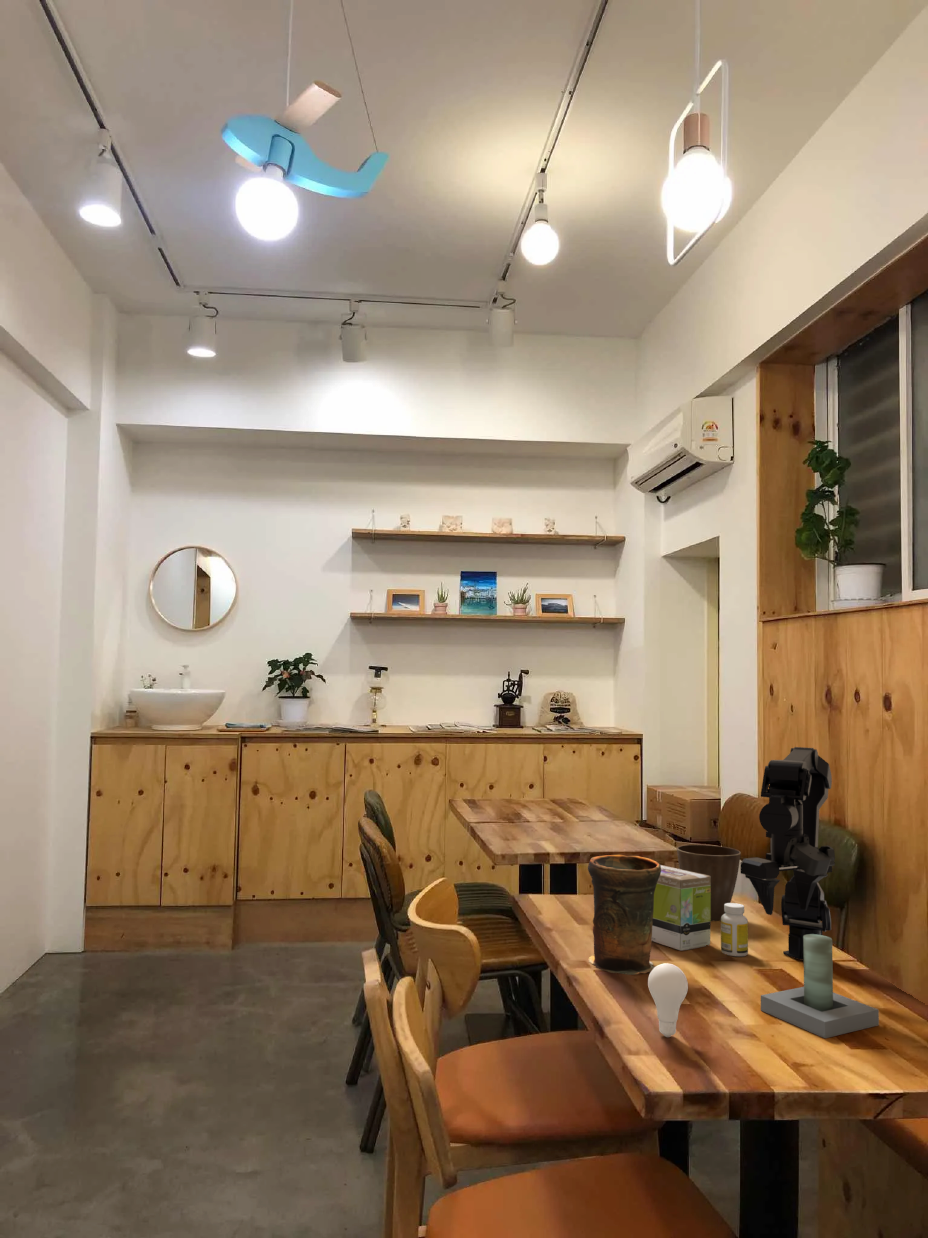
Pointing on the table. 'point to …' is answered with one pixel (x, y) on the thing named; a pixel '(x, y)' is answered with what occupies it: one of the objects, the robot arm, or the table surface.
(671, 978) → the lightbulb
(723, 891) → the plant pot
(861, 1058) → the table surface
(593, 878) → the vessel
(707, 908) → the tea box
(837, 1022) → the holder board
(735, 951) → the supplement bottle
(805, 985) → the peg
